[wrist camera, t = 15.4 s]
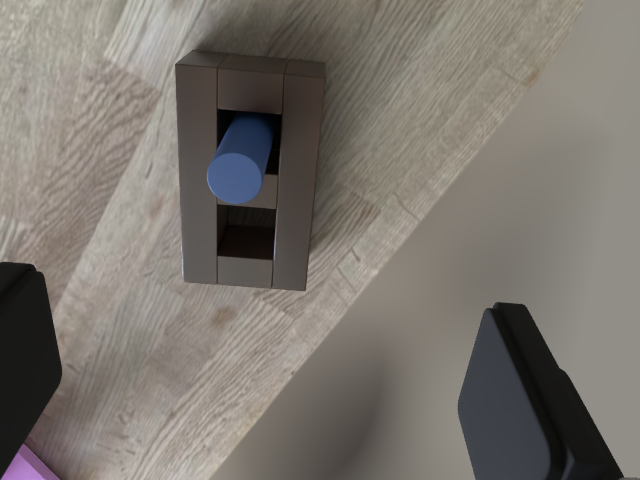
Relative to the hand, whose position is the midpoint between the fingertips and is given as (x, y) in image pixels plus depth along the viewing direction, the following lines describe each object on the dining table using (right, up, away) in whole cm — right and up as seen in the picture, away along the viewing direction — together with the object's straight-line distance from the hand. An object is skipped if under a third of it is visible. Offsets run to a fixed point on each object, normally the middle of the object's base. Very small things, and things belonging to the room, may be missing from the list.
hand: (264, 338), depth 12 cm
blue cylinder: (-3, +11, +27) cm, 29 cm away
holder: (-4, +8, +29) cm, 30 cm away
